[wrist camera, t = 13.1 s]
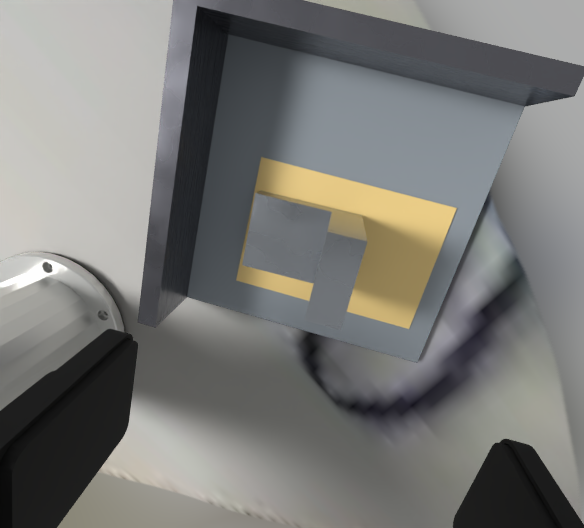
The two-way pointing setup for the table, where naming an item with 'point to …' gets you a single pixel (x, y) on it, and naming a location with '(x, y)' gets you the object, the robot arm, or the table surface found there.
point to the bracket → (308, 250)
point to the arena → (329, 156)
